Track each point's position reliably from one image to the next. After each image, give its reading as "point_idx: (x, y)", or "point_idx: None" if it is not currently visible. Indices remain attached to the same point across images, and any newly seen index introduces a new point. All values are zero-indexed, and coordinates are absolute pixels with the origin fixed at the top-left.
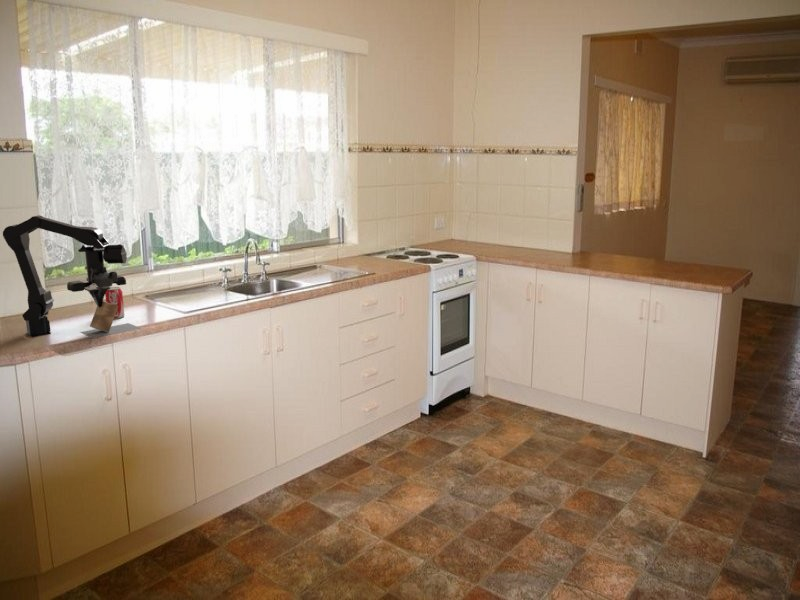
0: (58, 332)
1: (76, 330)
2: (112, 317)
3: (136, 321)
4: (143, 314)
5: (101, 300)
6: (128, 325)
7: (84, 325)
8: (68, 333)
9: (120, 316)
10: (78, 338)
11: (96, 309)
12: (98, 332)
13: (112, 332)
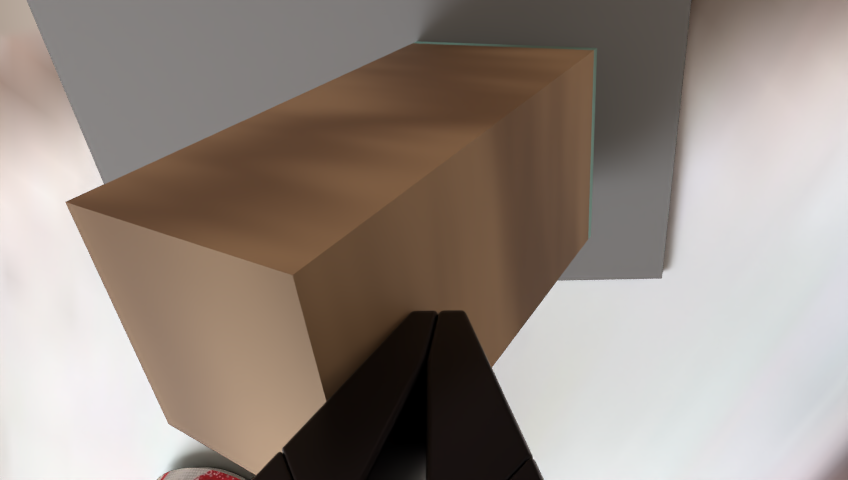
0: (786, 415)
1: (629, 376)
2: (293, 110)
3: (74, 315)
4: (15, 461)
5: (371, 401)
6: None
7: None
8: (747, 329)
9: (183, 473)
10: (815, 44)
11: None
12: None
13: (378, 5)
